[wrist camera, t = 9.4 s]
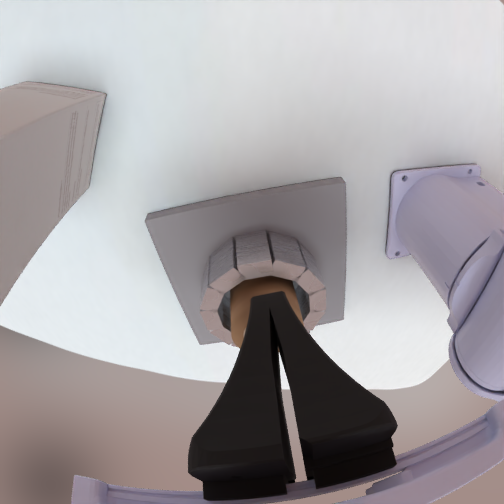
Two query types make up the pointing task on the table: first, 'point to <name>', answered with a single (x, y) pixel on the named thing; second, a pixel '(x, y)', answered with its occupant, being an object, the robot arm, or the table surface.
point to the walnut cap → (256, 287)
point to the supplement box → (41, 165)
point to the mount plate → (251, 220)
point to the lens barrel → (259, 265)
